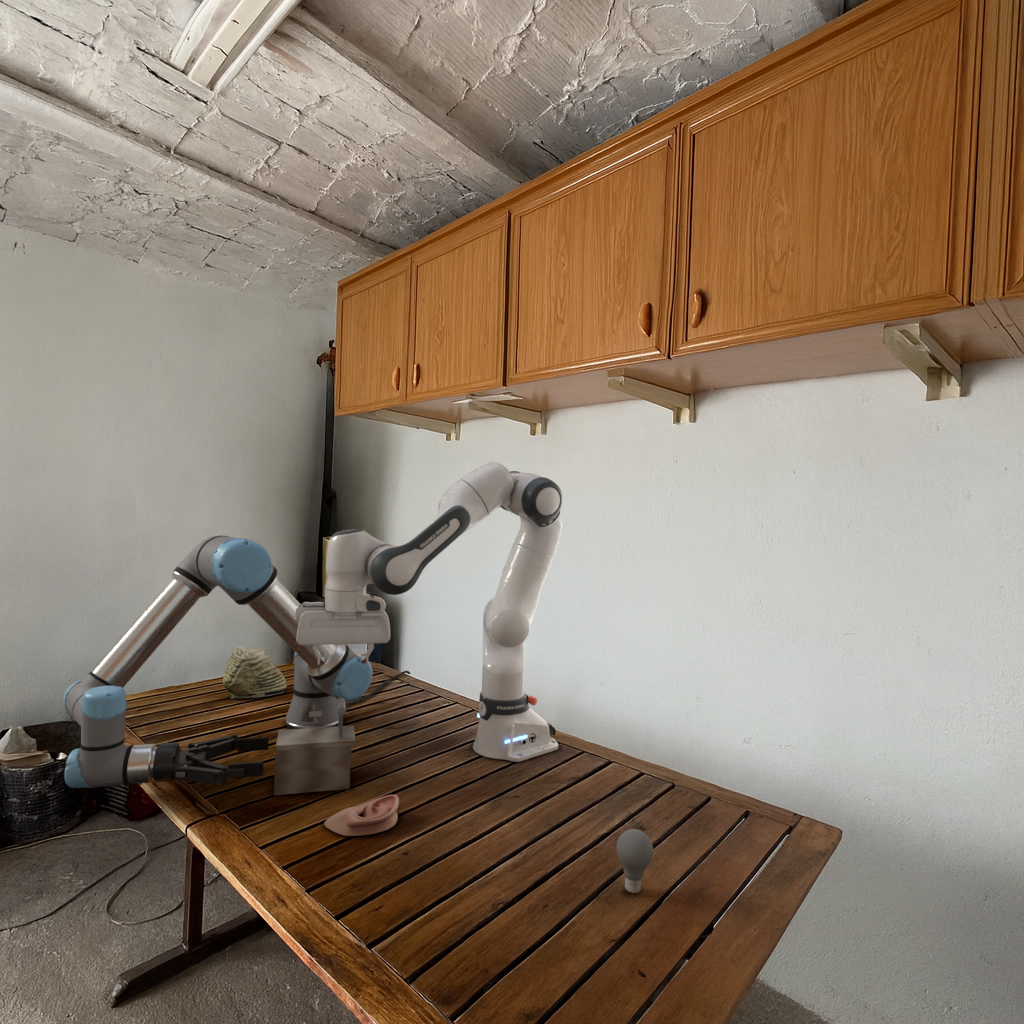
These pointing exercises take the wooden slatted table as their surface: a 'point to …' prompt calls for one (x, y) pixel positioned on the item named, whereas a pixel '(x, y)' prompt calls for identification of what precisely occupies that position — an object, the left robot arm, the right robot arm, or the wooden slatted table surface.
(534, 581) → the right robot arm
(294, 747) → the lid
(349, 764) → the chest
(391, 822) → the anatomical model
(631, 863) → the light bulb
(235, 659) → the fossil
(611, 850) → the wooden slatted table surface
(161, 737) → the wooden slatted table surface
